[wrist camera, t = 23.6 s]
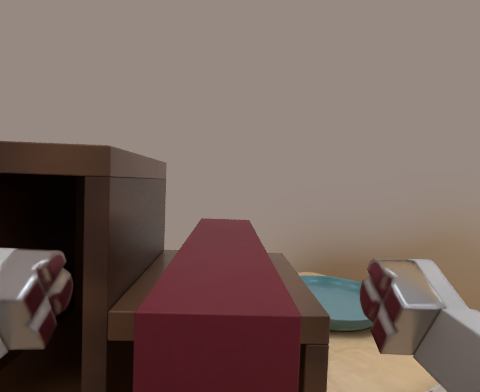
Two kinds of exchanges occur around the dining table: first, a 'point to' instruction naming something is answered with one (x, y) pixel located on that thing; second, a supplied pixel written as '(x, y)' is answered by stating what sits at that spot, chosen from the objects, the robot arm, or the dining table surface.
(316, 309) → the stepped wooden block
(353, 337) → the dining table surface
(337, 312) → the saucer
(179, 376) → the dark red rectangular block
